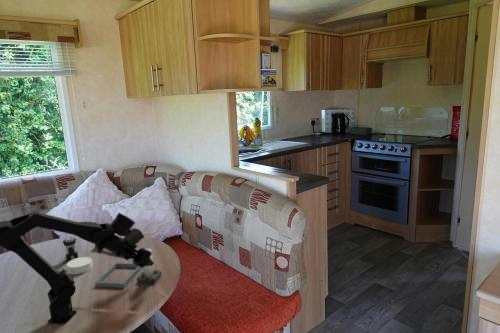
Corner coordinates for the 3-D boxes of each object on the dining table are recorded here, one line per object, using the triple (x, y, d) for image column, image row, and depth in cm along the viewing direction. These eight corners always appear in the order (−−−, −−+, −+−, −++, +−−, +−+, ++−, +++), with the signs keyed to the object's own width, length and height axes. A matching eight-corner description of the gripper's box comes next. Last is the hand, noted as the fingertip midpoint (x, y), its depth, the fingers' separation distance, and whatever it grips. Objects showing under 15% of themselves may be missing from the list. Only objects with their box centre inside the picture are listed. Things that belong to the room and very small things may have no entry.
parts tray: (124, 289, 132) (124, 283, 131) (95, 288, 134) (94, 282, 133) (143, 268, 147) (142, 263, 147) (116, 267, 149) (116, 262, 149)
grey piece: (154, 287, 132) (153, 281, 132) (134, 287, 133) (133, 280, 133) (164, 274, 142) (163, 268, 141) (145, 273, 143) (145, 268, 142)
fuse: (152, 281, 135) (149, 253, 133) (142, 281, 136) (139, 253, 133) (156, 276, 139) (153, 248, 137) (146, 275, 140) (143, 248, 137)
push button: (63, 263, 155) (60, 243, 152) (61, 259, 159) (58, 239, 157) (79, 259, 159) (76, 238, 156) (77, 255, 163) (74, 235, 161)
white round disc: (80, 276, 143) (78, 268, 142) (61, 273, 146) (60, 265, 146) (97, 265, 152) (96, 257, 152) (80, 262, 156) (78, 255, 155)
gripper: (143, 230, 122) (171, 247, 132) (114, 220, 133) (142, 236, 144) (126, 260, 117) (156, 275, 128) (98, 246, 129) (127, 261, 139)
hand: (145, 260), depth 135 cm, fingers open, 9 cm apart
